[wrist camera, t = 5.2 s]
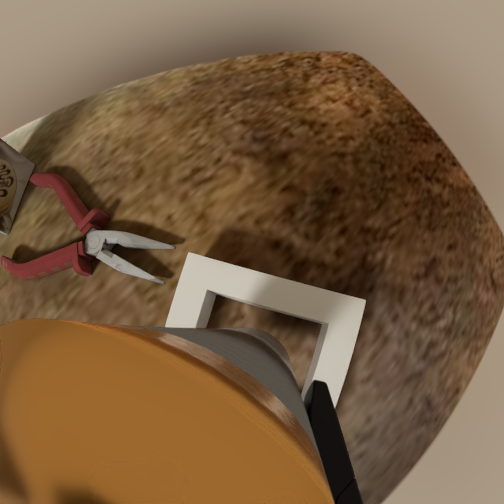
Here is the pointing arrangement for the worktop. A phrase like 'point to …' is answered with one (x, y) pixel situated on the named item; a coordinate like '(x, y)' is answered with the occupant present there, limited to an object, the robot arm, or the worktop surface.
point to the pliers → (82, 252)
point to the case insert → (276, 299)
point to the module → (152, 417)
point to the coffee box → (11, 183)
